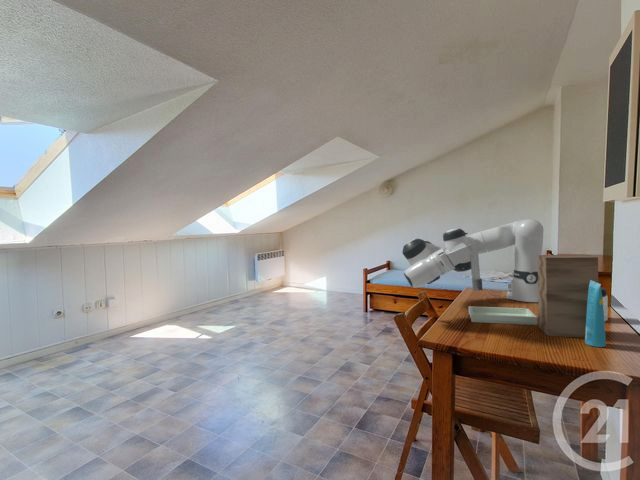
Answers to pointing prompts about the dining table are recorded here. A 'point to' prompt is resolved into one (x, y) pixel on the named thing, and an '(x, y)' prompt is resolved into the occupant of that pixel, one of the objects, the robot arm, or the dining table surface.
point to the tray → (502, 315)
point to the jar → (605, 303)
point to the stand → (564, 293)
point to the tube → (595, 317)
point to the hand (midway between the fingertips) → (479, 241)
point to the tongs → (475, 270)
